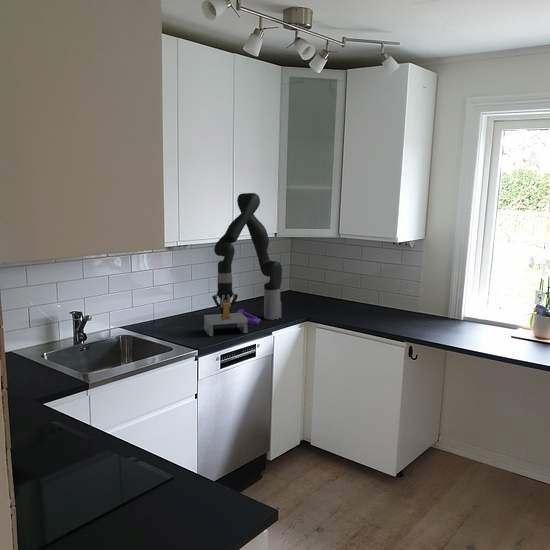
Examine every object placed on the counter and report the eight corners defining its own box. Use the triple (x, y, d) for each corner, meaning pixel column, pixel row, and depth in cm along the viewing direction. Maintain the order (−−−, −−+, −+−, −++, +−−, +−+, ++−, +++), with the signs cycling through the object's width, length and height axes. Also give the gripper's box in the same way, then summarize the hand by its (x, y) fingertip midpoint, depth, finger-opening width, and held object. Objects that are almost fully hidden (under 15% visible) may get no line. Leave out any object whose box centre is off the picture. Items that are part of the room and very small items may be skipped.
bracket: (236, 323, 308) (236, 311, 307) (240, 320, 315) (240, 309, 314) (257, 325, 305) (257, 312, 304) (260, 322, 312) (260, 310, 311)
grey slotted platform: (241, 326, 300) (240, 312, 298) (247, 333, 286) (247, 318, 285) (204, 329, 294) (204, 315, 292) (209, 336, 281) (209, 321, 279)
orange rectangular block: (227, 318, 292) (227, 300, 289) (229, 321, 288) (229, 303, 285) (221, 318, 291) (222, 301, 288) (223, 322, 287) (223, 304, 284)
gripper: (236, 279, 291) (236, 311, 294) (210, 280, 287) (210, 313, 290) (239, 281, 284) (240, 314, 287) (212, 283, 280) (213, 316, 283)
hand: (225, 313), depth 289 cm, fingers closed on orange rectangular block, 3 cm apart
